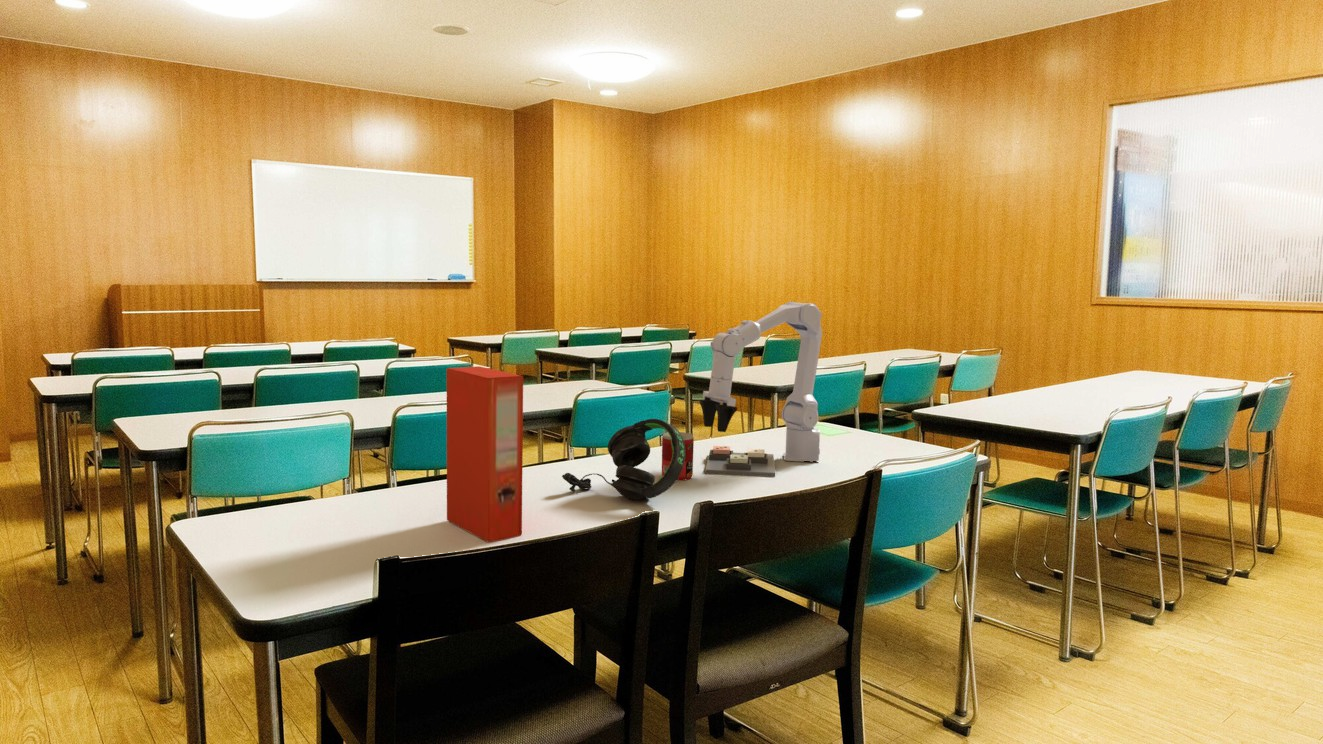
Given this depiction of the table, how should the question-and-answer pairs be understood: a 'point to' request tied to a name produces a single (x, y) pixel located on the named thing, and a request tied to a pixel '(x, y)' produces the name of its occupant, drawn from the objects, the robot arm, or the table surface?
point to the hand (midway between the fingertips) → (714, 429)
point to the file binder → (485, 452)
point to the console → (741, 465)
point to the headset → (638, 461)
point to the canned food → (668, 454)
